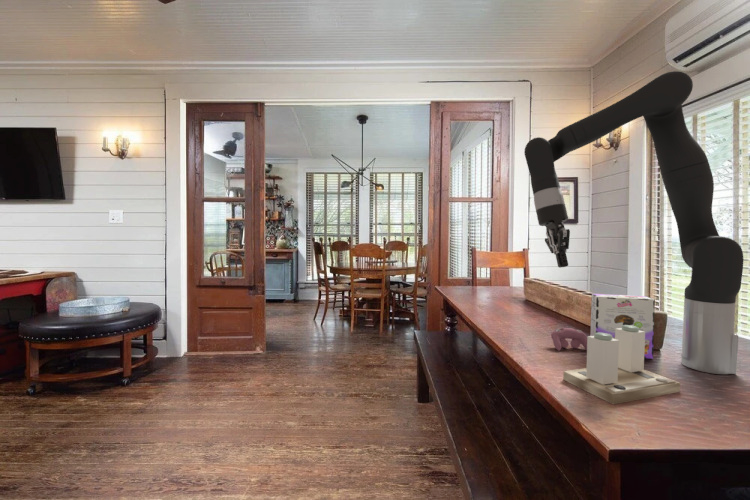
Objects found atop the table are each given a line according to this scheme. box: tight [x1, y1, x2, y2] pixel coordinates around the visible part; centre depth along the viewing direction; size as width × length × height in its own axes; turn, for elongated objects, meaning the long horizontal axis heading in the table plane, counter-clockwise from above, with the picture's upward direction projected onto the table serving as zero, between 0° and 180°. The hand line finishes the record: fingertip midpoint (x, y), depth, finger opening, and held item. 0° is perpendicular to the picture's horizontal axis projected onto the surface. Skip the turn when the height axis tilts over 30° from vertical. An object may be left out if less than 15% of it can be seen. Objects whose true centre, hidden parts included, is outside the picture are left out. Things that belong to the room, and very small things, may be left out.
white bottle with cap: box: [585, 332, 619, 385], centre depth 74 cm, size 4×4×10 cm
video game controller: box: [550, 327, 588, 352], centre depth 102 cm, size 10×5×7 cm, turn 85°
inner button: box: [615, 325, 645, 372], centre depth 81 cm, size 4×4×10 cm
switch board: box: [563, 367, 681, 405], centre depth 77 cm, size 12×19×2 cm, turn 107°
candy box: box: [589, 293, 656, 360], centre depth 98 cm, size 14×6×16 cm, turn 71°
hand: (563, 266), depth 95 cm, fingers closed
